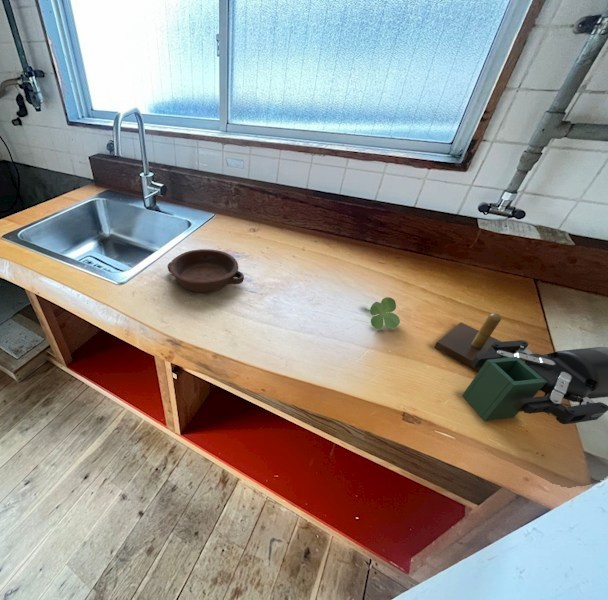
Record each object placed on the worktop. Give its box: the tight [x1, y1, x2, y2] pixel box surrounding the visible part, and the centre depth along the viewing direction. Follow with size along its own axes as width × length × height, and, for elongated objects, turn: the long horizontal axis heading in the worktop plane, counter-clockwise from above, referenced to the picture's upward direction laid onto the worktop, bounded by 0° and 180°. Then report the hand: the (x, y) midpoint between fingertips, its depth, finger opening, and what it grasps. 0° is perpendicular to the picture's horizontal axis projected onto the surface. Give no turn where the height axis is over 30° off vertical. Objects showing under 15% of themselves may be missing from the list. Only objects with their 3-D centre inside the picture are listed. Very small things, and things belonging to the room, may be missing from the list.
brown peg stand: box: [433, 312, 502, 373], centre depth 61 cm, size 10×10×9 cm
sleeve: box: [461, 357, 546, 422], centre depth 51 cm, size 5×5×9 cm
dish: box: [166, 248, 245, 293], centre depth 86 cm, size 18×22×5 cm
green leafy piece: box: [364, 296, 401, 330], centre depth 72 cm, size 7×8×6 cm
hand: (495, 382), depth 49 cm, fingers open, 8 cm apart
